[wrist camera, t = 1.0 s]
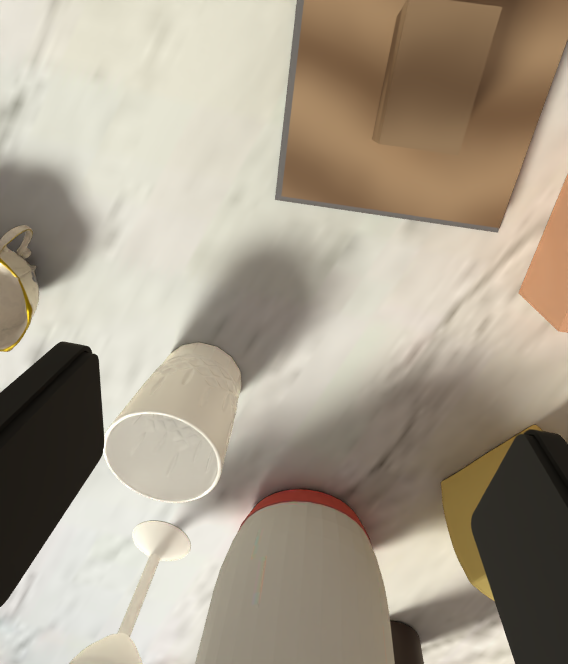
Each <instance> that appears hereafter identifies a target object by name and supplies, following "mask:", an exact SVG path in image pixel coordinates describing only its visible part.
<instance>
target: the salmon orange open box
mask: <svg viewBox="0 0 568 664" xmlns="http://www.w3.org/2000/svg"><path fill="white" fill-rule="evenodd" d="M519 294H520V295H521V296H522V297H523V298H524V299H525V300H526V301H527V302H528V303H529V304H530V305H531V306H532V307H534V308H535V309H536V310H537V311H538V312H539V313H540V314H541V315H542V316H543V317H544V318H545V319H546V320H547V321H548V322H549V323H550V324H551V325H552V326H553V327H554V328H556V329H557V330H558V331H560V332H567V333H568V175H567V177H566V179H565V182H564V184H563V187H562V189H561V192H560V194H559V196H558V199H557V201H556V204H555V206H554V208H553V211H552V213H551V216H550V218H549V221H548V223H547V225H546V228H545V230H544V233H543V235H542V237H541V240H540V242H539V245H538V247H537V250H536V252H535V254H534V257H533V259H532V262H531V264H530V266H529V269H528V271H527V274H526V276H525V279H524V281H523V283H522V286H521V288H520V291H519Z"/></svg>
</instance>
